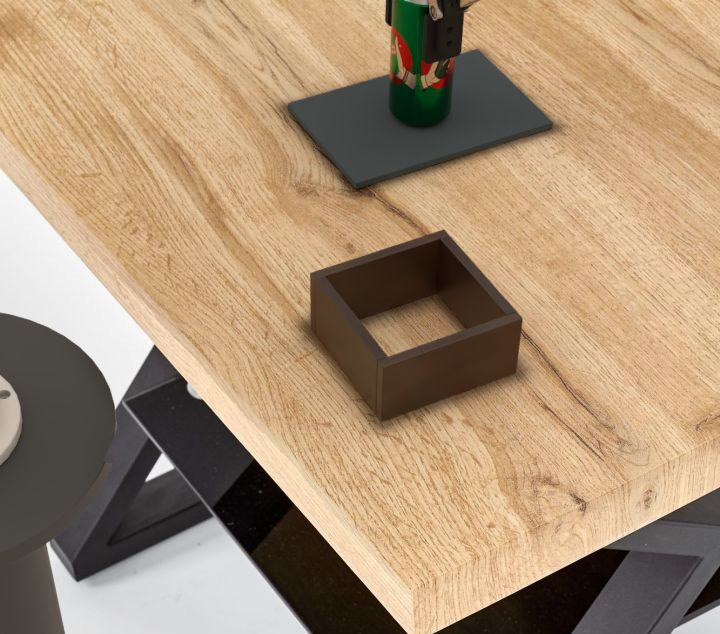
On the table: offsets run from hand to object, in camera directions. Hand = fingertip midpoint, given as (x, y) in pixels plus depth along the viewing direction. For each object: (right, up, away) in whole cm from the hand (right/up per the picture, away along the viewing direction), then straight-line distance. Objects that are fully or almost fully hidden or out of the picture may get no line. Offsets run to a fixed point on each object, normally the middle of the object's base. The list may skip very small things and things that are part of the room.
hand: (422, 37), depth 122 cm
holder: (-1, -26, -12) cm, 29 cm away
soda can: (0, -5, +5) cm, 7 cm away
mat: (0, -5, +6) cm, 7 cm away
